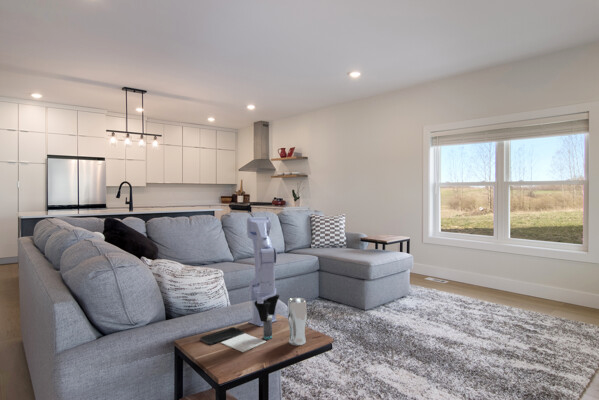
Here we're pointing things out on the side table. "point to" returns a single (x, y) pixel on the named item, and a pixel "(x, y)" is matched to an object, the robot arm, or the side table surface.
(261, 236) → the robot arm
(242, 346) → the paper
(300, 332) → the beer glass
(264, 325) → the grey cylinder
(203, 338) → the phone
